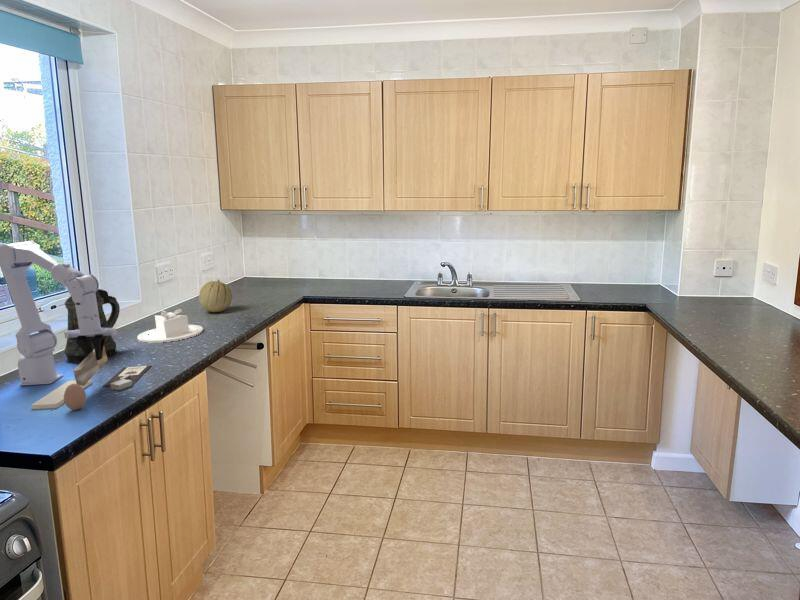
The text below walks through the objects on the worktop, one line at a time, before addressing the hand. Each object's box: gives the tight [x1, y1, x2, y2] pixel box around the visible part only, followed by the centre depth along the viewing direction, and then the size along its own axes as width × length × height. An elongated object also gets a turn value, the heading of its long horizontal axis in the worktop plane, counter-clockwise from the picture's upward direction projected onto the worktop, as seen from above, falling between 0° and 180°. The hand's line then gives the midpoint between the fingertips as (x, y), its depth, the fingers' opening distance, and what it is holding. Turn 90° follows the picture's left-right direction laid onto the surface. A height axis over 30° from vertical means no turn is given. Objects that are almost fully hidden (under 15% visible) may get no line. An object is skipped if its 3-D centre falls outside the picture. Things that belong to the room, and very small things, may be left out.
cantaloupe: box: [198, 279, 233, 313], centre depth 272 cm, size 15×15×15 cm
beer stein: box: [64, 288, 121, 364], centre depth 209 cm, size 16×19×25 cm
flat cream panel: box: [30, 379, 93, 410], centre depth 170 cm, size 7×20×1 cm, turn 2°
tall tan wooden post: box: [72, 347, 109, 386], centre depth 173 cm, size 2×16×5 cm, turn 2°
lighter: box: [110, 375, 133, 391], centre depth 177 cm, size 7×2×8 cm
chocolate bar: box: [102, 365, 152, 388], centre depth 185 cm, size 9×1×18 cm
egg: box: [64, 384, 87, 411], centre depth 158 cm, size 5×5×7 cm
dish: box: [136, 308, 204, 344], centre depth 234 cm, size 25×25×11 cm
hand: (95, 359), depth 176 cm, fingers closed on tall tan wooden post, 2 cm apart
